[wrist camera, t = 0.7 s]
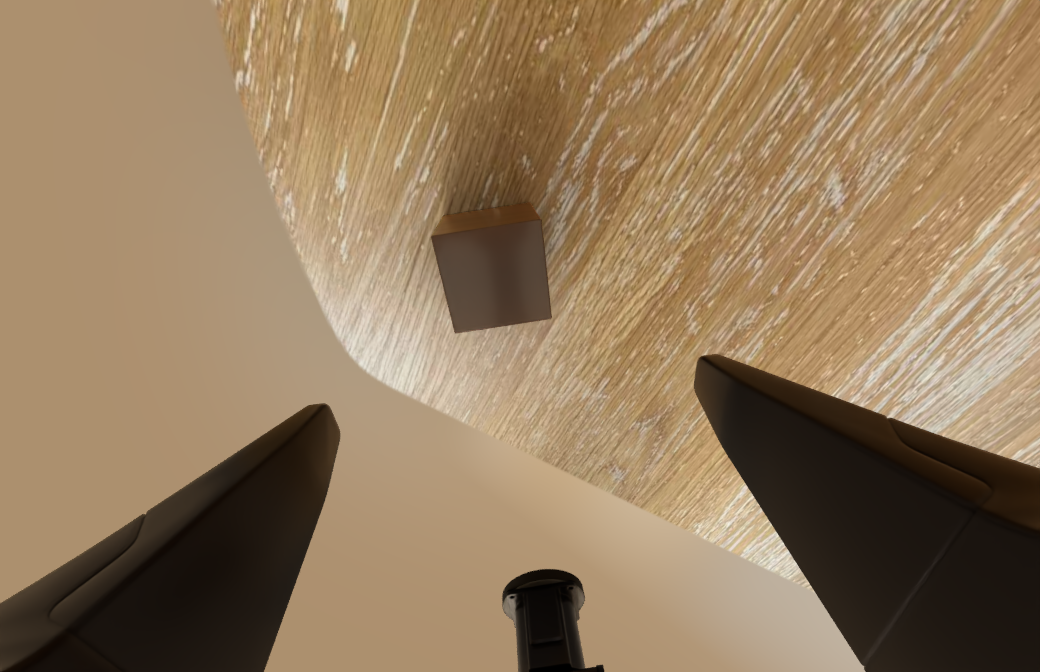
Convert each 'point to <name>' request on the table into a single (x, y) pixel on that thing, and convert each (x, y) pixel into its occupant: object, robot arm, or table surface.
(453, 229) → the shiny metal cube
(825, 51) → the table surface
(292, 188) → the table surface
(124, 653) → the robot arm
